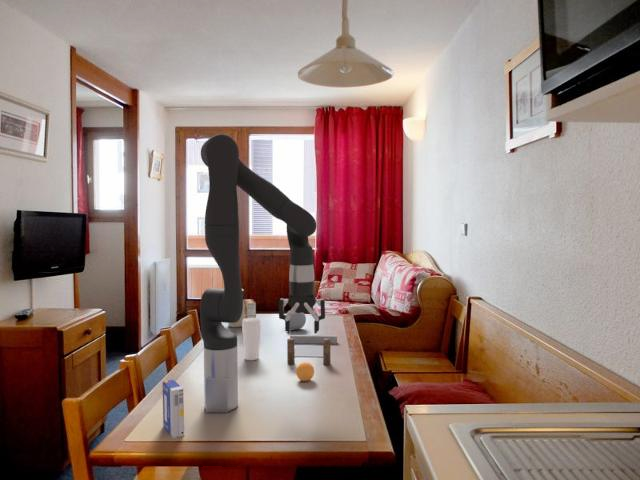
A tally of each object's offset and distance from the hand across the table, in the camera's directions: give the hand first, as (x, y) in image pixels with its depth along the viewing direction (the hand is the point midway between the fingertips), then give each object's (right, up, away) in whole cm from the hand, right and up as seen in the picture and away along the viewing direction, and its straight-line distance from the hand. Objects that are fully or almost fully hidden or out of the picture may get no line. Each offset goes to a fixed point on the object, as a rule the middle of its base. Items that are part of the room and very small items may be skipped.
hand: (302, 332), depth 136 cm
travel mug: (-36, -14, +86) cm, 94 cm away
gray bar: (+3, -16, +55) cm, 57 cm away
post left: (-5, -17, +27) cm, 33 cm away
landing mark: (+2, -16, +42) cm, 45 cm away
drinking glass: (-20, -17, +33) cm, 42 cm away
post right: (+8, -17, +27) cm, 33 cm away
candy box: (-27, -15, +70) cm, 77 cm away
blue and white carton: (-31, -20, -24) cm, 44 cm away
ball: (0, -15, +10) cm, 18 cm away
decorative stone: (-6, -15, +77) cm, 79 cm away
